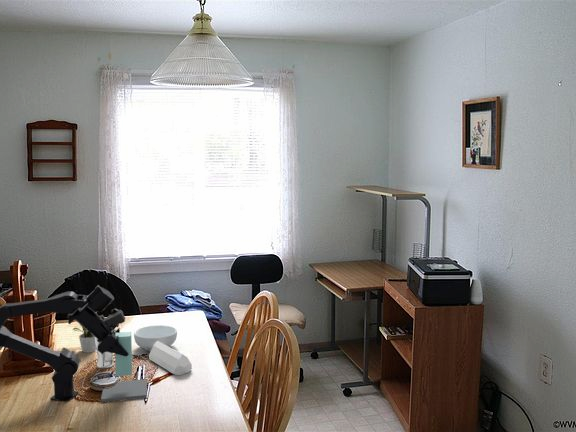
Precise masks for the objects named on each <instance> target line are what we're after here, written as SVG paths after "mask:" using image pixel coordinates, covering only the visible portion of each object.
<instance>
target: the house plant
mask: <svg viewBox="0 0 576 432" xmlns="http://www.w3.org/2000/svg"><path fill="white" fill-rule="evenodd" d="M94 312H95V311H94ZM95 313H96V314H98V312H95ZM100 316H103V314H101V315H100ZM65 318H68V316H67V317H65ZM80 327H81V328H82V330H81V329H80V328H78V327H74V328H72V331H73V332H76V331H80V332H82V333H81V334H79V336H78V338H79V344H80V347H81V352H82V353H92V352H95V351H97V350H96V345H95V337H94V336H93V335H92V334H91V333H90V334H88V333H87V330H86V329H85V328H84V327H83V326H82V325H80Z"/></svg>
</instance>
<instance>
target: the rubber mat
mask: <svg viewBox="0 0 576 432" xmlns="http://www.w3.org/2000/svg"><path fill="white" fill-rule="evenodd" d="M147 381H148V378H142V379H133V380H131V379H130V380H121V381H120V380H119V381H117V382H118V383H117V385H116V386H114V387H112V388H109V389H103V388H102V392H101V397H100V403H107V402H118V401H119V402H120V401H127V400H128V401H129V400H130V401H131V400H139V399H147V394H148V392H147V391H148V388H147V387H148V384H147V383H148V382H147Z"/></svg>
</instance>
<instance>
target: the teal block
mask: <svg viewBox="0 0 576 432" xmlns="http://www.w3.org/2000/svg"><path fill="white" fill-rule="evenodd" d="M115 335H116V337H117V336H118V338H119V343H120V344H121V345H122V346H123V347H124V349H125V350H126V351H127V352H128V354H129V355H128V356H122V355H118V354H114V356H115V358H114V360H115V361H114V367H115V377H124V376H132V375H133V350H132V349H133V347H132V346H133V344H132V342H133V341H132V331H124V332H121V331H120V332H119V333H115Z"/></svg>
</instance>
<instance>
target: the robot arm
mask: <svg viewBox="0 0 576 432" xmlns="http://www.w3.org/2000/svg"><path fill="white" fill-rule="evenodd" d="M114 300H115V297H114V295H113V294H112V293H111V292H110V291H109V290H108V289H106V288H104V287H103V286H102V287H101V286H100V285H99V284H97V286H96V287H95V288H94V290H92V291H91V292H90V294H88V295H87V294H86V295H85V294H77V293H76V292H75V291H71V290H70V291H65V292H62V293H60V294H59V293H58V294H55V295H53V296H51V297H49V298H42V299H34V300H27V301H21V302H12V303H10V302H9V303H8V302H7V303H4V304H3V305H1V306H0V348H7V349H9V350H10V351H13V352H16V353H19V354H21V355H24V356H26V357H28V358H31V359H34V360H36V361H39V362H41V363H44V364H46V365H48V366H49V367H51V369H52V370H53V371H54V372H53V374H52V377H51V379H52V382H53V391H54V395H53V396H51V397H50V398H49V400H50V401H63V402H70V401H71V400H72V399H73V398H75V397H76V396H77V395H78V394H79V391H75V384H74V383H75V381H74V375H76V373H77V371H78V370H79V367H80V364H81V360H80V357H79V355H78V354H77V353H76V351H75V350H70V349H68V348H66V347H62V349H61V350H53V349H51V348H48V347H46V346H43V345H41V344H39V343H37V342H34V341H31V340H29V339H26V338H24V337H21V336H19V335H16V334H14V333H13V332H11V331H10V330H9V329H8V328H7V327H6V326H4V324H5V323H6V322H7V320H8V319H9V318H14V317H22V316H27V315H36V314H41V313H56V314H67V317H68V322H67V324H69V325H70V324H71V323H73V322H74V321H76V322H77V323H78V324H79V326H81V325H82V326H83V327H84V328H85V329H86V330H87V333H88V334H90V333H91V334H92V335H93V336H94V337H96V338H97V341H98V342H99V343H98V351H99V352H100V353H102V354H103V353H104V352H110V353H113V354H114V355H115V354H118V355H122V356H128V355H129V354H128V352H127V351H126V350H125V349H124V347H123V346H122V345H121V344H120V343H119V338H118V336H117V337H116V335H115V333H119V332H121V331H120V330H121V328H120V324H124V323H125V322H126V317H125V314H124V312H123V311H122V310H121V309H117V308H113V309H111V311H110V313H111V314H109V315H108V316H107V317H106V316H104V315H102V316H101V315H99V314H98V313H99V312H100V313H101V312H103V311H104V310H105V309H106V308H107V307H108V306H109V305H110V304H111V303H112V302H113V301H114ZM95 312H97V313H95ZM71 325H72V324H71ZM82 326H81V327H82ZM116 328H117V329H116Z"/></svg>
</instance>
